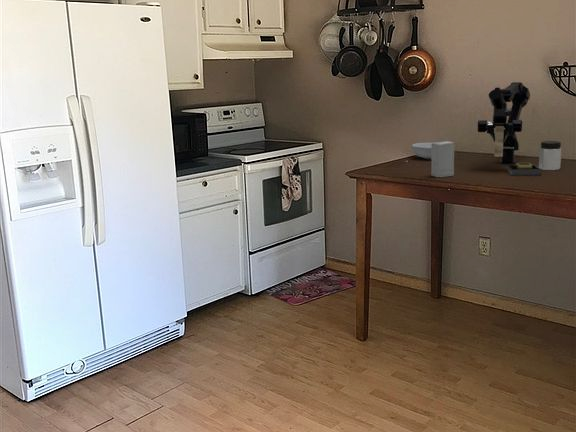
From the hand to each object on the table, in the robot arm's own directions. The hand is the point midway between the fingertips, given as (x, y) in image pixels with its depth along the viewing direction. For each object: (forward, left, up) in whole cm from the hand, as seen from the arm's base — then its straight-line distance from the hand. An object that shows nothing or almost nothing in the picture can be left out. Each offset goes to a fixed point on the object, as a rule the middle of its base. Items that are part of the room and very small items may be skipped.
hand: (499, 141), depth 280 cm
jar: (-7, +23, -14) cm, 28 cm away
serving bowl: (-42, -26, -14) cm, 51 cm away
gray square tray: (+3, +10, -14) cm, 17 cm away
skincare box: (+8, -25, -14) cm, 29 cm away
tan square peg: (-2, 0, -7) cm, 7 cm away
